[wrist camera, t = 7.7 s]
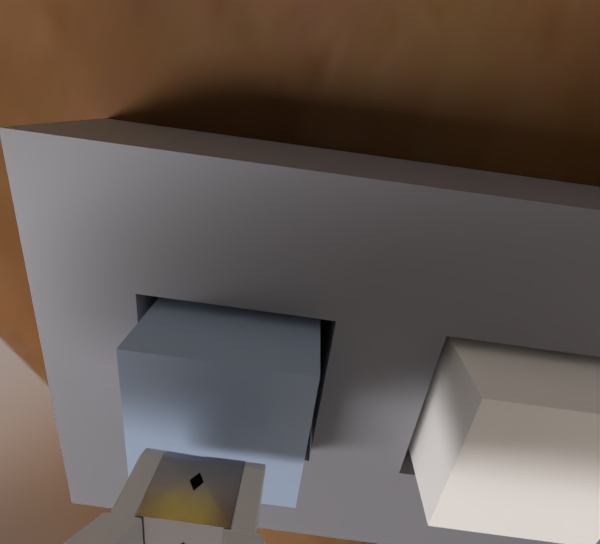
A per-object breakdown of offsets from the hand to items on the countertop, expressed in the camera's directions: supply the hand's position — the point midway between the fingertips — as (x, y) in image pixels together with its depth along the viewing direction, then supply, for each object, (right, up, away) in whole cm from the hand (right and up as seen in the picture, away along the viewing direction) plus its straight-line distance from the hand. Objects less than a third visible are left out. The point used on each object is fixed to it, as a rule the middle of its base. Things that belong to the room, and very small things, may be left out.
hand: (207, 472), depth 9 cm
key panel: (+9, +2, +7) cm, 12 cm away
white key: (+9, +1, +5) cm, 10 cm away
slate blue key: (0, +2, +5) cm, 5 cm away
